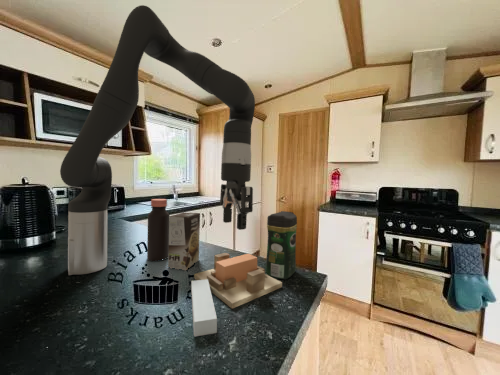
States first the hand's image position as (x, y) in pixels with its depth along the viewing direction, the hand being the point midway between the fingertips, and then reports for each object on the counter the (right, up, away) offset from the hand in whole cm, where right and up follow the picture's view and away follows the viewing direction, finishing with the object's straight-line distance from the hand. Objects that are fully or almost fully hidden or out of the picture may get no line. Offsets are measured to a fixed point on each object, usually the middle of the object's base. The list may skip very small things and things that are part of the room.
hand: (233, 225), depth 57 cm
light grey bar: (-6, -16, -10) cm, 20 cm away
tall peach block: (+1, -15, +3) cm, 15 cm away
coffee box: (-17, -15, +14) cm, 26 cm away
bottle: (-27, -14, +18) cm, 36 cm away
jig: (+1, -16, +2) cm, 16 cm away
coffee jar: (+13, -16, +9) cm, 23 cm away
